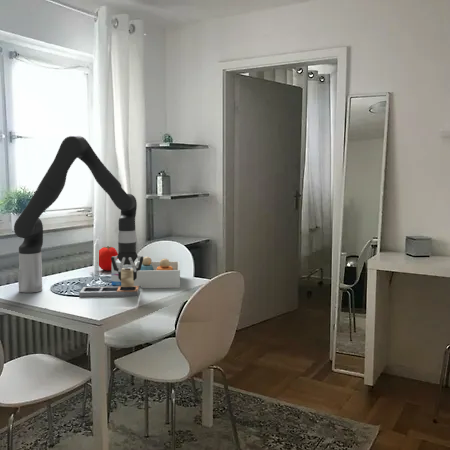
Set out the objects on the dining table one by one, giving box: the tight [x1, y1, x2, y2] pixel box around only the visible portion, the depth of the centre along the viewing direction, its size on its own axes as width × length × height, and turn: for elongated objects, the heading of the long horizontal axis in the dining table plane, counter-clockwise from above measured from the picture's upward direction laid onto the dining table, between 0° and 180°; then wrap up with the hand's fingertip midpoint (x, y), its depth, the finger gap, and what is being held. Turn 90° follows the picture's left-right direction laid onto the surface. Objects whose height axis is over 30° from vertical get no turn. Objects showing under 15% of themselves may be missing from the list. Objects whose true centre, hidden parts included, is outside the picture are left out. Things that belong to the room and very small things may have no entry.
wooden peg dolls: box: [140, 256, 173, 271], centre depth 246 cm, size 18×17×12 cm
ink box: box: [111, 259, 129, 286], centre depth 237 cm, size 9×5×12 cm, turn 168°
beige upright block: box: [120, 267, 134, 287], centre depth 218 cm, size 5×5×7 cm
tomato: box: [98, 245, 118, 271], centre depth 271 cm, size 12×12×13 cm
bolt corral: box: [134, 260, 181, 289], centre depth 244 cm, size 22×23×8 cm
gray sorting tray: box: [78, 285, 140, 298], centre depth 218 cm, size 24×10×3 cm, turn 96°
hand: (127, 280), depth 218 cm, fingers closed on beige upright block, 5 cm apart
